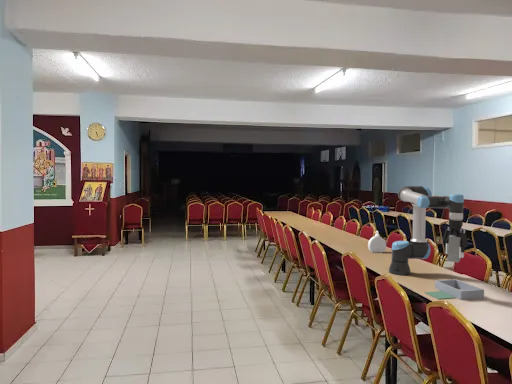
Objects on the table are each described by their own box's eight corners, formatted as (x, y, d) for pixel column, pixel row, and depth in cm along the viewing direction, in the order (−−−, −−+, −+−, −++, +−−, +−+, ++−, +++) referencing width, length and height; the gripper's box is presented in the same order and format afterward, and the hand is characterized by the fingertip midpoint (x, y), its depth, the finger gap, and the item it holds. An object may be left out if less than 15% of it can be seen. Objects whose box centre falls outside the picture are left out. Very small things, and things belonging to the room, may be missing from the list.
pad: (424, 292, 225) (424, 292, 225) (441, 291, 227) (441, 291, 227) (438, 299, 213) (438, 298, 213) (455, 298, 216) (455, 297, 216)
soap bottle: (383, 251, 348) (384, 230, 347) (386, 252, 343) (386, 231, 342) (367, 251, 347) (368, 230, 346) (369, 252, 342) (370, 231, 341)
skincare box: (449, 258, 228) (450, 233, 228) (462, 260, 224) (463, 235, 223) (446, 261, 222) (447, 235, 221) (459, 263, 217) (460, 236, 217)
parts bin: (434, 288, 234) (435, 280, 234) (456, 286, 238) (456, 279, 238) (461, 299, 213) (461, 291, 213) (483, 298, 216) (484, 289, 216)
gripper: (437, 217, 232) (435, 251, 233) (465, 222, 210) (464, 260, 211) (447, 217, 234) (445, 251, 235) (476, 221, 212) (474, 259, 213)
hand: (454, 255), depth 223 cm, fingers closed on skincare box, 10 cm apart
